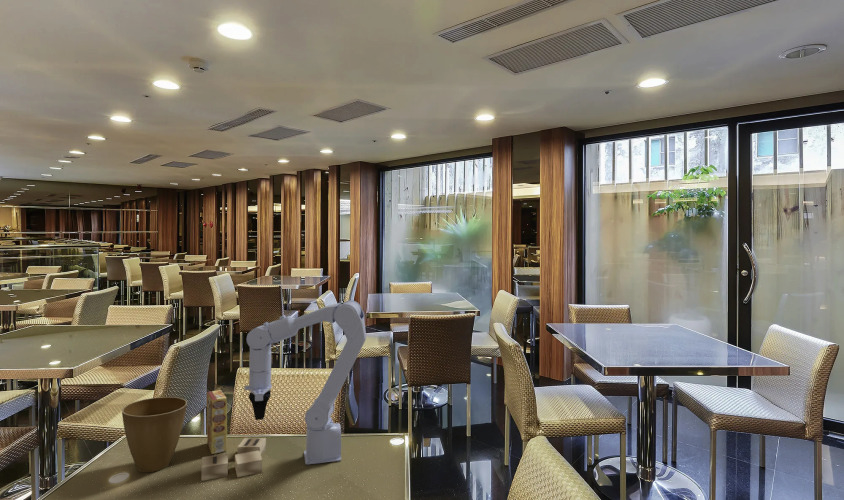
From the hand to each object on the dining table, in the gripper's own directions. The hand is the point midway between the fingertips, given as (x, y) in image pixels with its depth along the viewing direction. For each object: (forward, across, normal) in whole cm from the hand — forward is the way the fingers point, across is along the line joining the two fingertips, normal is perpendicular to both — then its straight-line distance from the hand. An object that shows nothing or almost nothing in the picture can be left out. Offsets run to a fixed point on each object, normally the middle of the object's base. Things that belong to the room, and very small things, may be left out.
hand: (259, 418), depth 129 cm
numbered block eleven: (+11, -2, -2) cm, 11 cm away
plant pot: (+11, -1, -26) cm, 28 cm away
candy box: (+11, -9, -12) cm, 18 cm away
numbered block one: (+11, +7, -10) cm, 17 cm away
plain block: (+11, +7, -2) cm, 13 cm away
